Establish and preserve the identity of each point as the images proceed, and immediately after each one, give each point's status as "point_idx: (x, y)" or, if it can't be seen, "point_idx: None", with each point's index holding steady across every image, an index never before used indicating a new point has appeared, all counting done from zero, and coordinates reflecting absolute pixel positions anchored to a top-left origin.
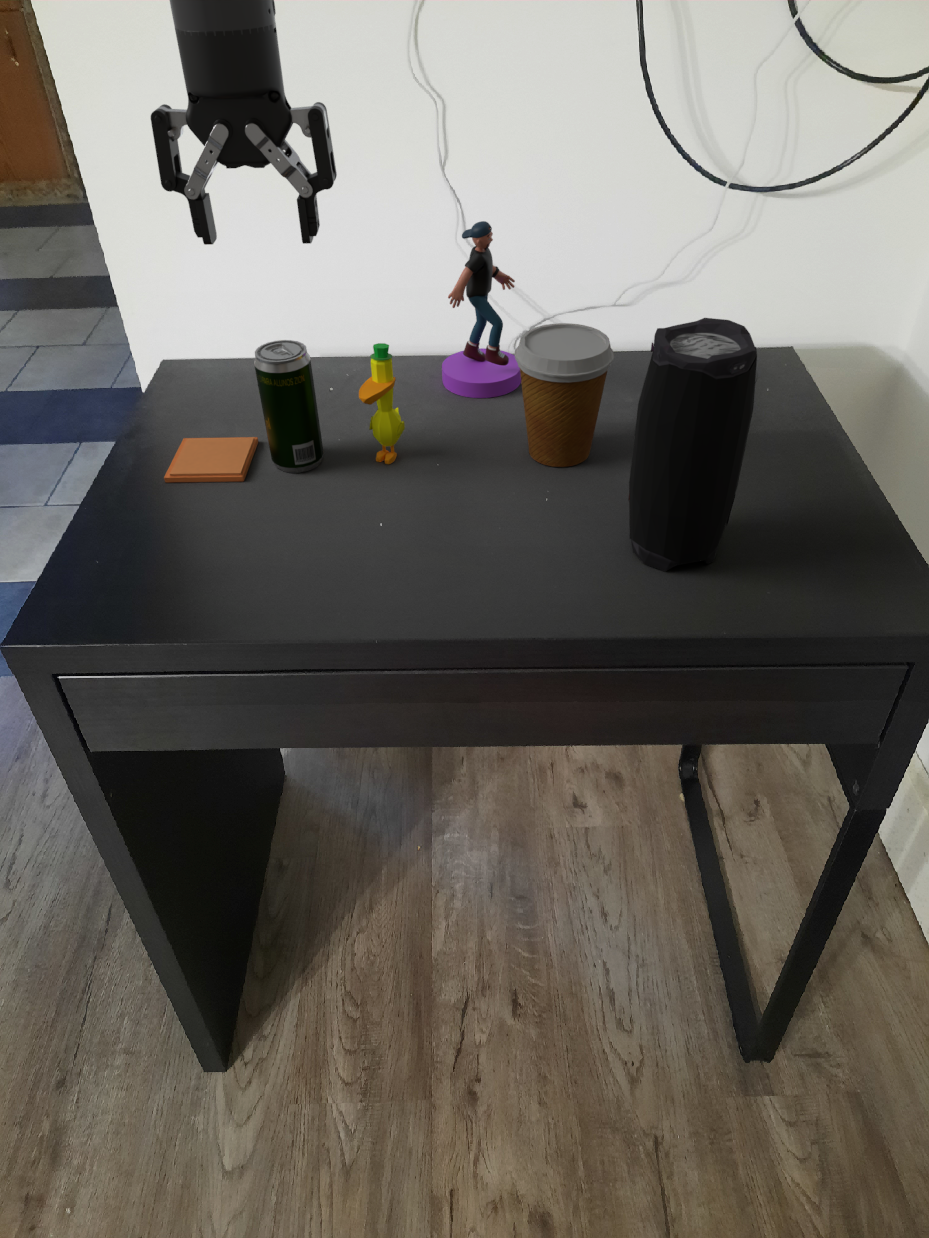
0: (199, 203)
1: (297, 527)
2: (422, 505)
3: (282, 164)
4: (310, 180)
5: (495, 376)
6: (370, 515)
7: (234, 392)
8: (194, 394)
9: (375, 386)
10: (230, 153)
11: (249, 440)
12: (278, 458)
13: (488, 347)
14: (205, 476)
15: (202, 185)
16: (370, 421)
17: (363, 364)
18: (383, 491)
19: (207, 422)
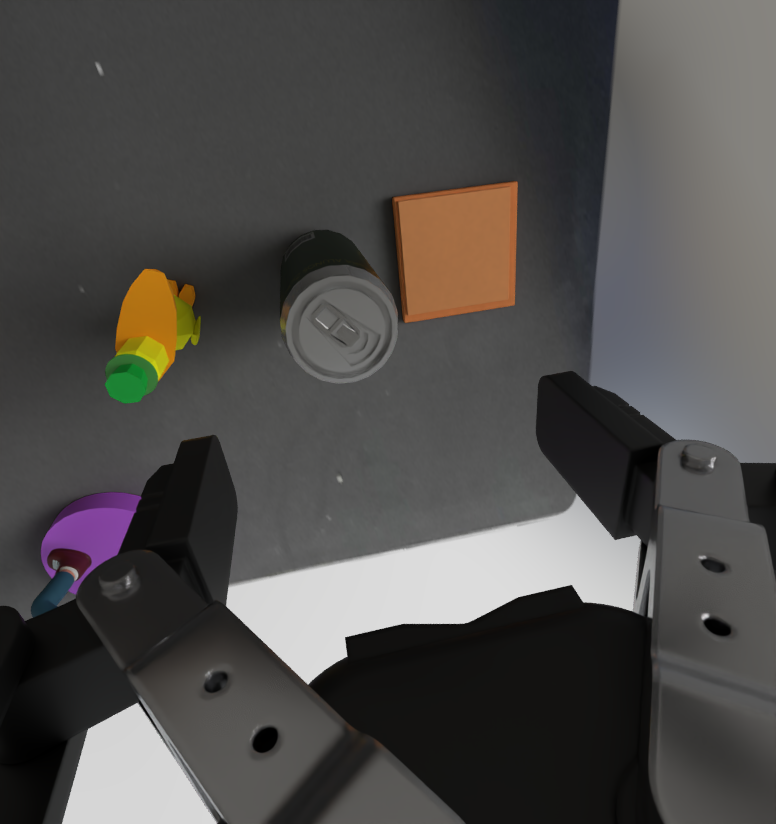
0: (639, 441)
1: (252, 46)
2: (49, 146)
3: (188, 663)
4: (88, 643)
5: (73, 532)
6: (133, 101)
7: (475, 447)
8: (528, 434)
9: (145, 321)
10: (576, 669)
11: (412, 305)
12: (342, 236)
13: (73, 570)
14: (453, 191)
15: (663, 489)
16: (198, 327)
17: (315, 547)
18: (142, 190)
19: (492, 364)
